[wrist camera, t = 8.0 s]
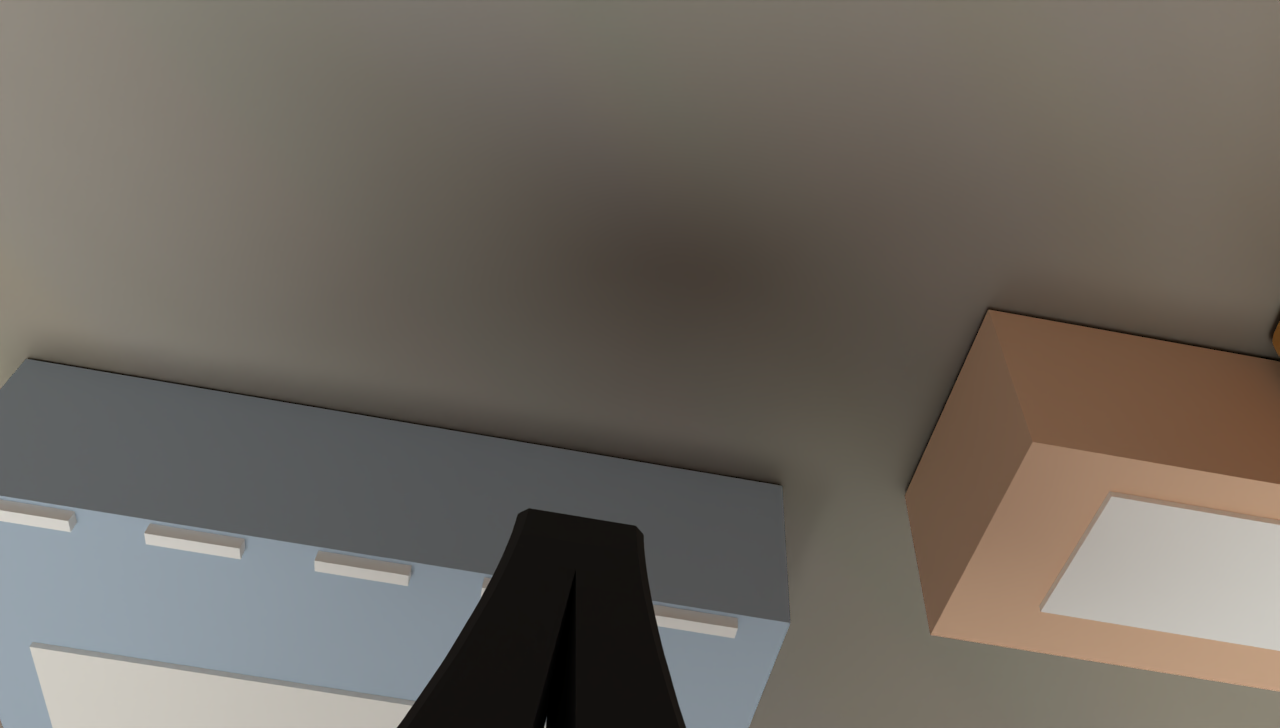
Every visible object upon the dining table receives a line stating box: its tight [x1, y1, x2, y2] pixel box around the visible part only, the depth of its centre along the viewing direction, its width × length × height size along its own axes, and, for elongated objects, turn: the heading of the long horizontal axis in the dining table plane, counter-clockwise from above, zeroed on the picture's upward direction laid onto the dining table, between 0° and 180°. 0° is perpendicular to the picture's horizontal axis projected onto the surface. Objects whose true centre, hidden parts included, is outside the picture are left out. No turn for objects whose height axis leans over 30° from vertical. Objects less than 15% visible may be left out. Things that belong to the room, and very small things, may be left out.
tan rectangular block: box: [905, 310, 1280, 691], centre depth 17 cm, size 4×7×3 cm, turn 80°
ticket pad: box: [0, 359, 790, 728], centre depth 19 cm, size 7×13×3 cm, turn 80°
